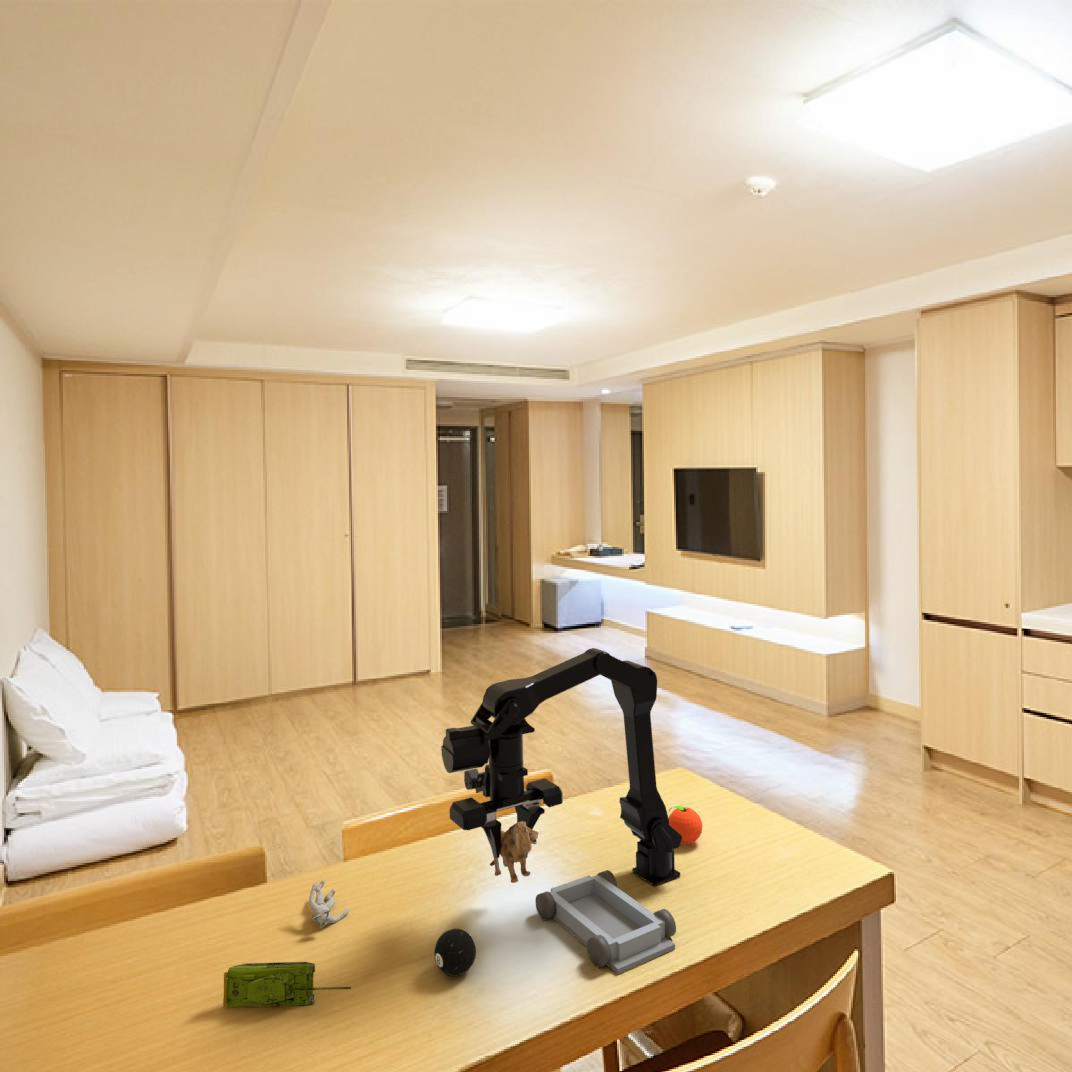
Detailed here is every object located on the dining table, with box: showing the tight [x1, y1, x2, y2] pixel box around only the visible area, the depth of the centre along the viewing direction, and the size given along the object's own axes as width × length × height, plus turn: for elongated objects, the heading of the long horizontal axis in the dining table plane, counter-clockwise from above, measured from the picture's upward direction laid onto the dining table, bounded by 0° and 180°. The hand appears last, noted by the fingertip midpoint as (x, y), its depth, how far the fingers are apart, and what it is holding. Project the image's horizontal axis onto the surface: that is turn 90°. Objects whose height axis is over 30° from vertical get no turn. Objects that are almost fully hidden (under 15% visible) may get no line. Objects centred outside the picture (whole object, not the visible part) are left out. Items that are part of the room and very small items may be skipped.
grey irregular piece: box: [308, 880, 351, 929], centre depth 127 cm, size 8×5×12 cm
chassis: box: [534, 869, 677, 975], centre depth 122 cm, size 14×22×4 cm, turn 31°
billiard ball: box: [433, 928, 477, 977], centre depth 111 cm, size 6×6×6 cm
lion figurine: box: [489, 821, 539, 884], centre depth 125 cm, size 15×5×9 cm, turn 36°
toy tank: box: [222, 961, 352, 1009], centre depth 104 cm, size 7×19×10 cm
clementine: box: [667, 805, 703, 845], centre depth 151 cm, size 8×7×7 cm
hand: (508, 853), depth 125 cm, fingers closed on lion figurine, 4 cm apart
